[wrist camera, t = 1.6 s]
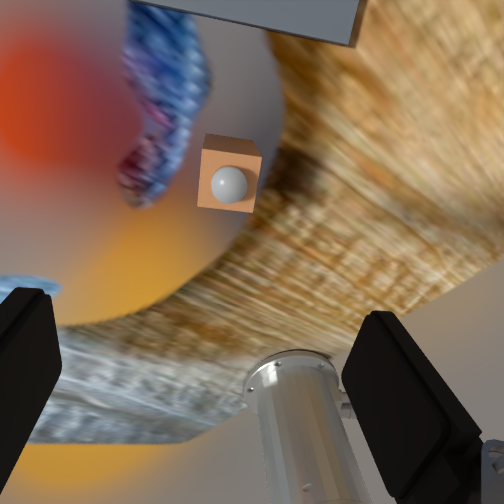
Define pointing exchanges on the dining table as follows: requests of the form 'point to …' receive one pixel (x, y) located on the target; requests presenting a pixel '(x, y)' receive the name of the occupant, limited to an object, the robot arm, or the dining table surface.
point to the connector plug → (228, 173)
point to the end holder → (277, 15)
